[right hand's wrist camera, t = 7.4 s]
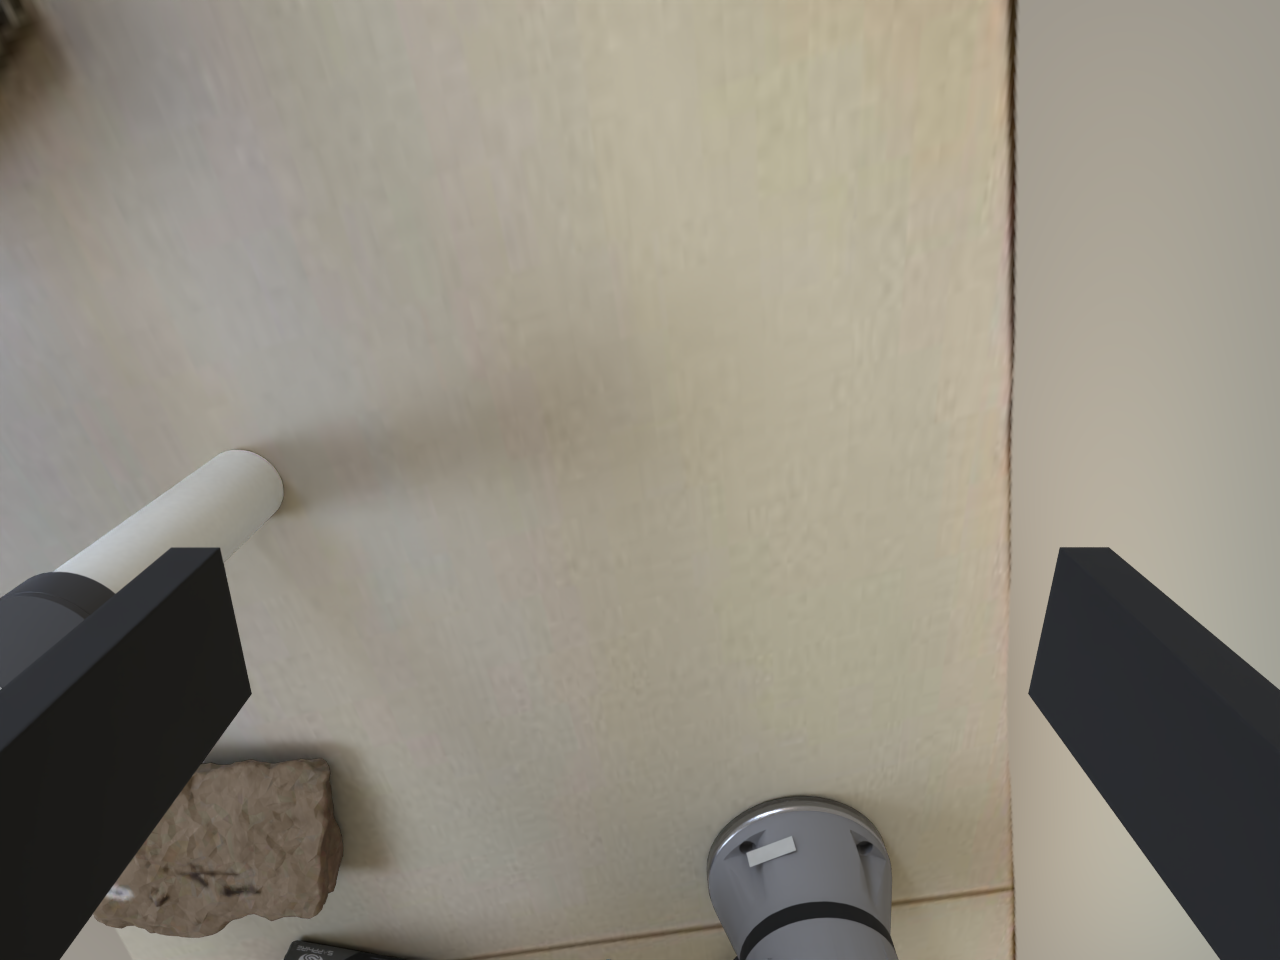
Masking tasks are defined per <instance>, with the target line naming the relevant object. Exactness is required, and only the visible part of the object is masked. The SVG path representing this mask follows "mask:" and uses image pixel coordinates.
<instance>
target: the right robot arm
mask: <svg viewBox="0 0 1280 960" xmlns="http://www.w3.org/2000/svg"><path fill="white" fill-rule="evenodd" d="M251 694H252V693H251V688H250V684H249V679H248V675H247V670H246V665H245V661H244V656H243V651H242V647H241V642H240V637H239V633H238V628H237V623H236V619H235V614H234V610H233V605H232V600H231V596H230V591H229V586H228V582H227V577H226V572H225V568H224V563H223V558H222V554H221V549H220V547H171V548H170V549H169V550H167V551H166V552H165V553H164V554H163V555H161V556H160V557H159V558H158V559H157V560H156V561H154V562H153V563H152V564H151V565H150V566H148V567H147V568H146V569H145V570H144V571H142V572H141V573H140V574H139V575H138V576H136V577H135V578H134V579H133V580H132V581H130V582H129V583H128V584H127V585H126V586H124V587H123V588H122V589H121V590H120V591H118V592H117V593H116V594H115V595H114V596H112V597H111V598H110V599H109V600H108V601H106V602H105V603H104V604H103V605H102V606H100V607H99V608H98V609H97V610H96V611H94V612H93V613H92V614H91V615H90V616H88V617H87V618H86V619H85V620H84V621H82V622H81V623H80V624H79V625H78V626H76V627H75V628H74V629H73V630H72V631H70V632H69V633H68V634H67V635H66V636H64V637H63V638H62V639H61V640H60V641H58V642H57V643H56V644H55V645H54V646H52V647H51V648H50V649H49V650H48V651H46V652H45V653H44V654H43V655H42V656H40V657H39V658H38V659H37V660H36V661H34V662H33V663H32V664H31V665H30V666H29V667H27V668H26V669H25V670H24V671H23V672H21V673H20V674H19V675H18V676H17V677H15V678H14V679H13V680H12V681H11V682H9V683H8V684H7V685H6V686H5V687H3V688H2V689H1V690H0V960H60V958H61V957H62V956H63V954H64V953H65V952H66V950H67V949H68V947H69V946H70V945H71V943H72V942H73V941H74V939H75V938H76V936H77V935H78V934H79V932H80V931H81V929H82V928H83V927H84V925H85V924H86V923H87V921H88V920H89V918H90V917H91V916H92V914H93V913H94V911H95V910H96V909H97V907H98V906H99V905H100V903H101V902H102V900H103V899H104V898H105V896H106V895H107V893H108V892H109V891H110V889H111V888H112V887H113V885H114V884H115V882H116V881H117V880H118V878H119V877H120V875H121V874H122V873H123V871H124V870H125V869H126V867H127V866H128V864H129V863H130V862H131V860H132V859H133V857H134V856H135V855H136V853H137V852H138V851H139V849H140V848H141V846H142V845H143V844H144V842H145V841H146V839H147V838H148V837H149V835H150V834H151V833H152V831H153V830H154V828H155V827H156V826H157V824H158V823H159V821H160V820H161V819H162V817H163V816H164V815H165V813H166V812H167V810H168V809H169V808H170V806H171V805H172V803H173V802H174V801H175V799H176V798H177V797H178V795H179V794H180V792H181V791H182V790H183V788H184V787H185V785H186V784H187V783H188V781H189V780H190V779H191V777H192V776H193V774H194V773H195V772H196V770H197V769H198V767H199V766H200V765H201V763H202V762H203V761H204V759H205V758H206V756H207V755H208V754H209V752H210V751H211V749H212V748H213V747H214V745H215V744H216V743H217V741H218V740H219V738H220V737H221V736H222V734H223V733H224V731H225V730H226V729H227V727H228V726H229V725H230V723H231V722H232V720H233V719H234V718H235V716H236V715H237V713H238V712H239V711H240V709H241V708H242V707H243V705H244V704H245V702H246V701H247V700H248V698H249V697H250V695H251ZM1028 694H1029V695H1030V697H1031V698H1032V700H1033V701H1034V702H1035V704H1036V705H1037V706H1038V708H1039V709H1040V711H1041V712H1042V713H1043V715H1044V716H1045V718H1046V719H1047V720H1048V722H1049V723H1050V725H1051V726H1052V727H1053V729H1054V730H1055V731H1056V733H1057V734H1058V736H1059V737H1060V738H1061V740H1062V741H1063V743H1064V744H1065V745H1066V747H1067V748H1068V749H1069V751H1070V752H1071V754H1072V755H1073V756H1074V758H1075V759H1076V761H1077V762H1078V763H1079V765H1080V766H1081V767H1082V769H1083V770H1084V772H1085V773H1086V774H1087V776H1088V777H1089V778H1090V780H1091V781H1092V783H1093V784H1094V785H1095V787H1096V788H1097V790H1098V791H1099V792H1100V794H1101V795H1102V797H1103V798H1104V799H1105V800H1106V802H1107V803H1108V805H1109V806H1110V808H1111V809H1112V810H1113V812H1114V813H1115V814H1116V816H1117V817H1118V819H1119V820H1120V821H1121V823H1122V824H1123V826H1124V827H1125V828H1126V830H1127V831H1128V832H1129V834H1130V835H1131V837H1132V838H1133V839H1134V841H1135V842H1136V844H1137V845H1138V846H1139V848H1140V849H1141V850H1142V852H1143V853H1144V855H1145V856H1146V857H1147V859H1148V860H1149V862H1150V863H1151V864H1152V866H1153V867H1154V868H1155V870H1156V871H1157V873H1158V874H1159V875H1160V877H1161V878H1162V880H1163V881H1164V882H1165V884H1166V885H1167V886H1168V888H1169V889H1170V891H1171V892H1172V893H1173V895H1174V896H1175V897H1176V899H1177V900H1178V902H1179V903H1180V904H1181V906H1182V907H1183V909H1184V910H1185V911H1186V913H1187V914H1188V916H1189V917H1190V918H1191V920H1192V921H1193V922H1194V924H1195V925H1196V927H1197V928H1198V929H1199V931H1200V932H1201V934H1202V935H1203V936H1204V938H1205V939H1206V941H1207V942H1208V943H1209V945H1210V946H1211V947H1212V949H1213V950H1214V952H1215V953H1216V954H1217V956H1218V957H1219V958H1220V960H1280V690H1279V689H1278V688H1277V687H1275V686H1274V685H1273V684H1272V683H1271V682H1269V681H1268V680H1267V679H1266V678H1265V677H1263V676H1262V675H1261V674H1260V673H1259V672H1257V671H1256V670H1255V669H1254V668H1253V667H1251V666H1250V665H1249V664H1248V663H1247V662H1245V661H1244V660H1243V659H1242V658H1241V657H1240V656H1238V655H1237V654H1236V653H1235V652H1233V651H1232V650H1231V649H1230V648H1229V647H1228V646H1226V645H1225V644H1224V643H1223V642H1222V641H1220V640H1219V639H1218V638H1217V637H1216V636H1214V635H1213V634H1212V633H1211V632H1210V631H1208V630H1207V629H1206V628H1205V627H1204V626H1202V625H1201V624H1200V623H1199V622H1198V621H1196V620H1195V619H1194V618H1193V617H1192V616H1190V615H1189V614H1188V613H1187V612H1186V611H1184V610H1183V609H1182V608H1181V607H1180V606H1178V605H1177V604H1176V603H1175V602H1174V601H1172V600H1171V599H1170V598H1169V597H1168V596H1166V595H1165V594H1164V593H1163V592H1162V591H1160V590H1159V589H1158V588H1157V587H1156V586H1154V585H1153V584H1152V583H1151V582H1150V581H1148V580H1147V579H1146V578H1145V577H1144V576H1142V575H1141V574H1140V573H1139V572H1138V571H1136V570H1135V569H1134V568H1133V567H1132V566H1130V565H1129V564H1128V563H1127V562H1126V561H1124V560H1123V559H1122V558H1121V557H1120V556H1119V555H1117V554H1116V553H1115V552H1114V551H1112V550H1111V549H1110V548H1109V547H1060V549H1059V554H1058V558H1057V563H1056V568H1055V573H1054V577H1053V582H1052V586H1051V591H1050V596H1049V600H1048V605H1047V610H1046V614H1045V619H1044V624H1043V628H1042V633H1041V638H1040V642H1039V647H1038V651H1037V656H1036V661H1035V665H1034V670H1033V675H1032V679H1031V684H1030V689H1029V693H1028ZM707 880H708V889H709V895H710V898H711V901H712V904H713V907H714V909H715V912H716V914H717V916H718V918H719V920H720V922H721V924H722V926H723V928H724V930H725V932H726V934H727V936H728V938H729V940H730V942H731V944H732V946H733V948H734V950H735V952H736V954H737V957H736V958H735V959H734V960H898V957H897V954H896V951H895V948H894V945H893V942H892V939H891V936H890V928H891V898H892V872H891V864H890V859H889V856H888V853H887V851H886V848H885V845H884V842H883V840H882V837H881V835H880V833H879V832H878V830H877V829H876V827H875V826H874V825H873V824H872V823H871V822H870V821H869V820H868V819H867V818H866V817H865V816H864V815H862V814H861V813H860V812H858V811H856V810H855V809H853V808H851V807H849V806H847V805H845V804H842V803H840V802H837V801H833V800H830V799H825V798H819V797H807V796H799V797H787V798H781V799H776V800H772V801H768V802H765V803H762V804H760V805H757V806H755V807H753V808H750V809H749V810H747V811H745V812H743V813H742V814H740V815H739V816H737V817H736V818H734V819H733V820H732V821H731V822H730V823H729V824H728V825H726V826H725V827H724V828H723V830H722V831H721V832H720V833H719V835H718V836H717V838H716V839H715V841H714V843H713V845H712V847H711V849H710V852H709V855H708V860H707ZM607 960H609V959H607Z"/></svg>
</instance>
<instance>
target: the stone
mask: <svg viewBox="0 0 1280 960" xmlns="http://www.w3.org/2000/svg"><path fill="white" fill-rule="evenodd" d="M329 779H330V770H329V766H328V764H327V762H326V761H325V760H324V759H322V758H321V759H311V760H305V759H299V760H291V761H285V762H279V763H275V764H272V763H267V762H259V761H255V760H252V759H250V760H246V761H242V762H235V763H233V764H229V765H217V764H214V763H207V764H201V765H200V766H199V767H198V769H197V770H196V772H195V773H194V774H193V776H192V777H191V779H190V780H189V781H188V783H187V784H186V785H185V787H184V788H183V790H182V791H181V792H180V794H179V795H178V797H177V798H176V799H175V801H174V802H173V803H172V805H171V806H170V808H169V809H168V810H167V812H166V813H165V815H164V816H163V817H162V819H161V820H160V821H159V823H158V824H157V826H156V827H155V828H154V830H153V831H152V833H151V834H150V835H149V837H148V838H147V839H146V841H145V842H144V844H143V845H142V846H141V848H140V849H139V851H138V852H137V853H136V855H135V856H134V857H133V859H132V860H131V862H130V863H129V864H128V866H127V867H126V869H125V870H124V871H123V873H122V874H121V875H120V877H119V878H118V880H117V881H116V882H115V884H114V885H113V887H112V888H111V889H110V891H109V892H108V893H107V895H106V896H105V898H104V899H103V900H102V902H101V903H100V905H99V906H98V907H97V909H96V910H95V911H94V913H93V915H94V917H95V918H96V920H97V921H99V922H101V923H104V924H105V925H107V926H111V927H115V928H124V927H126V926H137V927H139V928H144V929H146V930H147V931H148V932H150V933H158V934H162V935H168V936H180V937H190V938H200V937H204V936H209V935H213V934H215V933H217V932H219V931H220V930H222V929H223V928H224V927H225V926H226V925H227V924H228V923H229V922H230V921H232V920H234V919H239V918H242V917H244V916H246V915H250V914H256V915H258V916H261V917H265V918H267V919H268V920H270V921H274V920H276V919H279V918H282V917H300V918H308V919H310V918H312V917H314V916H316V915H317V914H318V913H319V912H320V911H321V910H322V908H323V905H324V904H325V902H326V900H327V897H328V893H330V892H333V891H334V888H335V885H336V880H337V875H338V871H339V867H340V863H341V860H342V857H343V842H342V835H341V833H340V828H339V826H338V824H337V823H336V821H335V819H334V816H333V802H332V793H331V786H330V783H329Z"/></svg>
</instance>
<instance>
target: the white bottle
mask: <svg viewBox="0 0 1280 960" xmlns="http://www.w3.org/2000/svg"><path fill="white" fill-rule="evenodd" d="M283 492H284V491H283V484H282V480H281V478H280V476H279V474H278V472H277V471H276V469H275V468H274V467H273V465H272V464H271V463H269V462H268V461H267V460H266V459H264V458H263V457H261V456H260V455H258V454H255V453H253V452H250V451H246V450H229V451H225V452H222V453H220V454H218V455H217V456H216V457H214V458H213V459H211V460H210V461H208V462H207V463H206V464H204V465H203V466H201V467H200V468H199V469H197V470H196V471H194V472H193V473H191V474H190V475H189V476H187V477H186V478H184V479H183V480H182V481H180V482H179V483H177V484H176V485H175V486H173V487H172V488H170V489H169V490H167V491H166V492H165V493H163V494H162V495H160V496H159V497H158V498H156V499H155V500H153V501H152V502H150V503H149V504H148V505H146V506H145V507H143V508H142V509H141V510H139V511H138V512H136V513H135V514H134V515H132V516H131V517H129V518H128V519H126V520H125V521H124V522H122V523H121V524H119V525H118V526H117V527H115V528H114V529H112V530H111V531H110V532H108V533H107V534H105V535H104V536H102V537H101V538H100V539H98V540H97V541H95V542H94V543H93V544H91V545H90V546H88V547H87V548H85V549H84V550H83V551H81V552H80V553H78V554H77V555H76V556H74V557H73V558H71V559H70V560H69V561H67V562H66V563H64V564H63V565H61V566H60V567H59V568H57V569H56V570H54V571H53V572H69V573H75V574H79V575H82V576H86V577H88V578H91V579H93V580H95V581H97V582H99V583H101V584H103V585H104V586H106V587H107V588H109V589H110V590H112V591H113V592H114V593H115V594H116V593H117V592H118V591H120V590H121V589H122V588H123V587H124V586H126V585H127V584H128V583H129V582H130V581H132V580H133V579H134V578H135V577H136V576H138V575H139V574H140V573H141V572H142V571H144V570H145V569H146V568H147V567H148V566H150V565H151V564H152V563H153V562H154V561H156V560H157V559H158V558H159V557H160V556H161V555H163V554H164V553H165V552H166V551H167V550H169V549H170V548H171V547H220V549H221V554H222V558H223V563H224V562H225V561H226V560H227V559H228V558H229V557H230V556H231V555H232V554H233V553H234V552H235V551H236V550H237V549H238V548H239V547H240V546H241V545H242V544H243V543H244V542H245V541H246V540H247V539H248V538H249V537H251V536H252V535H253V534H254V533H255V532H256V531H257V530H258V529H259V528H260V527H261V526H262V525H263V524H264V523H265V522H266V521H267V520H268V519H269V518H270V517H271V516H272V515H273V514H274V513H275V512H276V511H277V510H278V508H279V507H280V505H281V503H282V500H283Z"/></svg>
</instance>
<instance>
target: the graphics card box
mask: <svg viewBox="0 0 1280 960" xmlns="http://www.w3.org/2000/svg"><path fill="white" fill-rule="evenodd" d="M284 960H404V959H399V958H394V957H388V956H382V955H376V954H372V953H371V954H370V953H367V952H365V953H364V952H359V951H356V950H350V949H344V948H338V947H334V946H327V945H320V944H316V943H309V942H305V941H294V942H292V943H291V945H290V947H289V950H288V952H287V954H286V955H285V958H284Z"/></svg>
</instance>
